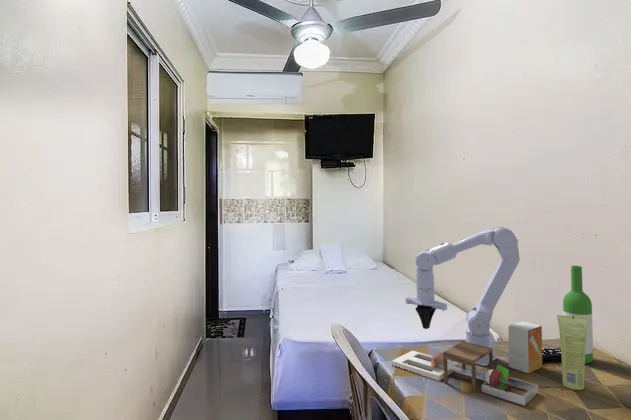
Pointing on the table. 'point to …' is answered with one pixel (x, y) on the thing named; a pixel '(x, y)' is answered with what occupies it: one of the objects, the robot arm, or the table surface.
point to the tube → (573, 349)
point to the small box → (525, 346)
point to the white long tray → (486, 388)
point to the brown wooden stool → (467, 358)
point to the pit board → (421, 365)
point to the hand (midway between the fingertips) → (426, 328)
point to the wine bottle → (580, 307)
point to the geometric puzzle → (499, 377)
